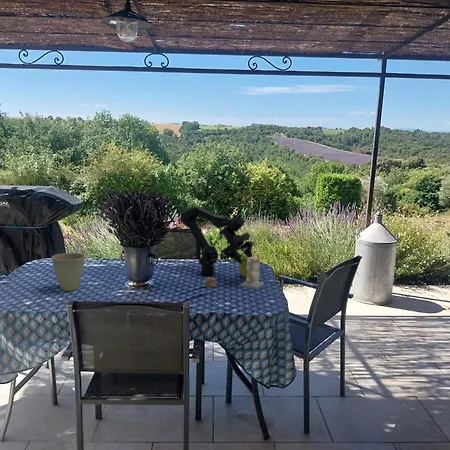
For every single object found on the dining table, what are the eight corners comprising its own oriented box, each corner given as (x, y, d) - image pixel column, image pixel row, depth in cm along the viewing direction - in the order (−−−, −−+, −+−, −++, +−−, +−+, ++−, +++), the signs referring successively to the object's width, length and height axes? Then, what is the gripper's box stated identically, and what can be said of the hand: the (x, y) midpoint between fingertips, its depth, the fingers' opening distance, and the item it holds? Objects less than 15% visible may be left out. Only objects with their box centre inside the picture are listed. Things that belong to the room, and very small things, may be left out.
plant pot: (70, 282, 226) (69, 251, 224) (92, 287, 219) (91, 255, 217) (45, 290, 213) (44, 257, 211) (68, 295, 206) (67, 261, 204)
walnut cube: (205, 287, 225) (205, 279, 225) (207, 284, 229) (207, 277, 229) (213, 287, 224) (213, 279, 224) (215, 285, 228) (215, 277, 228)
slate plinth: (240, 286, 226) (240, 284, 226) (247, 282, 234) (248, 279, 234) (257, 289, 222) (257, 286, 222) (264, 285, 230) (264, 282, 230)
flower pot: (254, 278, 242) (254, 262, 240) (238, 277, 244) (238, 261, 242) (256, 274, 250) (257, 258, 249) (240, 273, 252) (241, 257, 251)
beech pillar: (246, 283, 228) (247, 258, 226) (251, 281, 231) (252, 256, 229) (253, 285, 225) (254, 259, 223) (258, 283, 228) (259, 258, 226)
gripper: (228, 229, 222) (245, 255, 217) (251, 225, 237) (267, 249, 231) (216, 242, 229) (232, 268, 224) (239, 238, 243) (254, 262, 238)
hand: (247, 261), depth 229 cm, fingers open, 9 cm apart
